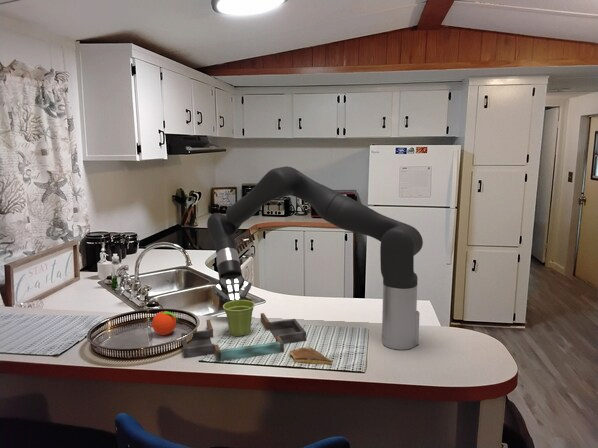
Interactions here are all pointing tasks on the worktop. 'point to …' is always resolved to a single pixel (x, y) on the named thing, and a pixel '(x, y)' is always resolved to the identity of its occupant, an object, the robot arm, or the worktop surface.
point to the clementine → (164, 322)
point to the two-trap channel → (280, 329)
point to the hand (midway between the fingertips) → (236, 312)
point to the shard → (309, 356)
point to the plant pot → (239, 316)
